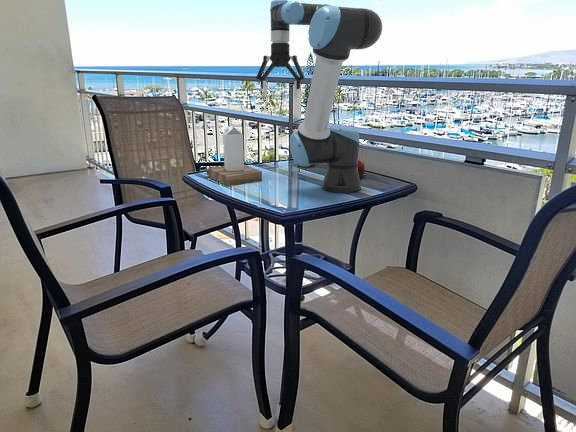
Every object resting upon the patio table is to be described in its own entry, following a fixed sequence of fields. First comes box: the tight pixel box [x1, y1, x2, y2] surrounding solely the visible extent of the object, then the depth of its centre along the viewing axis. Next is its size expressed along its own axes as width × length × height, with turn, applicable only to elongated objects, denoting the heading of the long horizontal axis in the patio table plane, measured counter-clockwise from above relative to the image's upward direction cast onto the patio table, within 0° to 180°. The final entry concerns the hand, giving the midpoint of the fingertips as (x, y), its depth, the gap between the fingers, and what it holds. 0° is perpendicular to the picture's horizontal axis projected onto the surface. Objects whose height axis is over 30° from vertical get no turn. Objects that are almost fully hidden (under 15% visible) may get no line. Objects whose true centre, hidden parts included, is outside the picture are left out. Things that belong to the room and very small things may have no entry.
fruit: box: [358, 158, 366, 178], centre depth 179 cm, size 9×10×10 cm
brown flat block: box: [206, 164, 263, 187], centre depth 177 cm, size 20×16×4 cm
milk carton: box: [222, 122, 245, 171], centre depth 172 cm, size 7×7×19 cm
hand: (280, 97), depth 176 cm, fingers open, 13 cm apart
